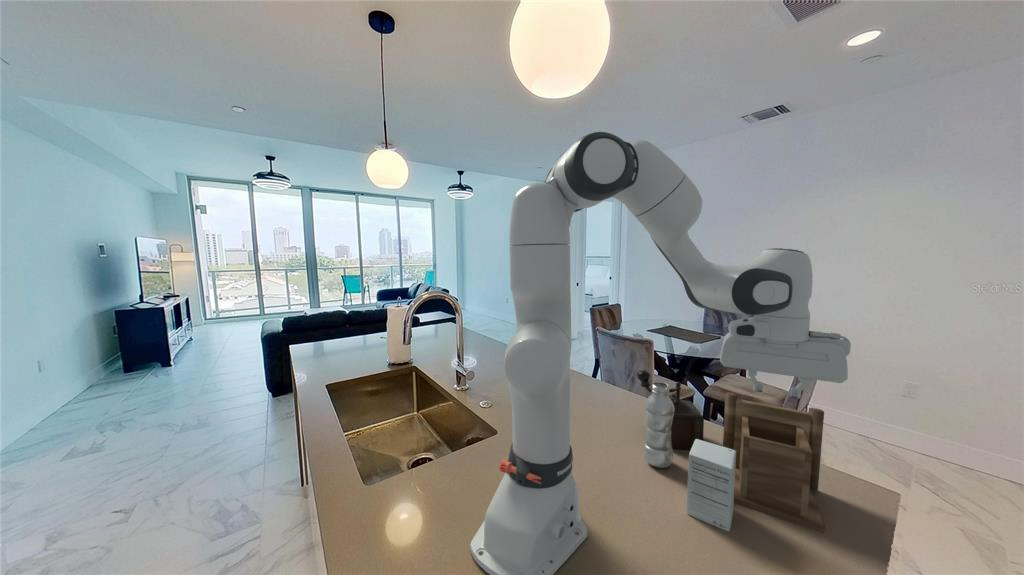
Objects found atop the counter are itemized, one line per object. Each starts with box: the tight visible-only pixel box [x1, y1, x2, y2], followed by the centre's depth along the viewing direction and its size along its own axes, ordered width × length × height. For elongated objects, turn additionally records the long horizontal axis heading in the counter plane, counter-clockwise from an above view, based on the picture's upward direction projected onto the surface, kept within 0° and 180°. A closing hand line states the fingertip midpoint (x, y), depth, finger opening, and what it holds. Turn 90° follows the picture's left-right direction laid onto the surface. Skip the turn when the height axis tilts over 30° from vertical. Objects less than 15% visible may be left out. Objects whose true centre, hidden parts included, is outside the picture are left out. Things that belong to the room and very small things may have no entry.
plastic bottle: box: [643, 381, 675, 469], centre depth 80 cm, size 6×7×20 cm
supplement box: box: [686, 439, 736, 533], centre depth 65 cm, size 7×7×13 cm
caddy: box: [722, 392, 826, 533], centre depth 70 cm, size 14×17×18 cm
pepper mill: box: [636, 369, 705, 451], centre depth 92 cm, size 16×11×18 cm
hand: (776, 393), depth 68 cm, fingers open, 5 cm apart
